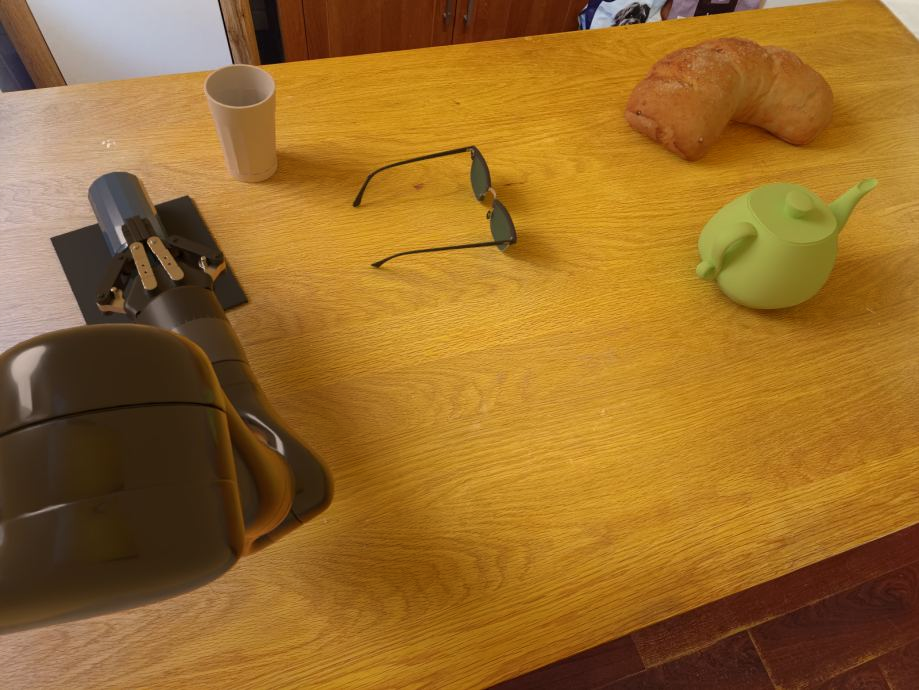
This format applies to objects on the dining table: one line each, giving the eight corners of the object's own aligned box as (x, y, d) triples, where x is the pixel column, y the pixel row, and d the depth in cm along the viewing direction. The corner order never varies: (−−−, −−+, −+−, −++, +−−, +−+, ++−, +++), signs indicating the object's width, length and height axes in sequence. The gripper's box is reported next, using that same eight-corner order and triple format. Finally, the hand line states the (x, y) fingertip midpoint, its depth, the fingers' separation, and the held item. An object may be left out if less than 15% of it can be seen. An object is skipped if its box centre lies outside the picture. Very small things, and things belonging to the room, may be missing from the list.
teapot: (788, 212, 101) (840, 136, 90) (860, 294, 94) (925, 222, 83) (655, 248, 94) (693, 171, 83) (721, 340, 87) (772, 269, 76)
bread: (771, 63, 121) (801, 6, 112) (838, 145, 110) (877, 89, 102) (593, 81, 112) (612, 21, 104) (648, 171, 102) (673, 112, 94)
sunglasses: (347, 188, 94) (346, 158, 90) (472, 172, 98) (477, 143, 94) (377, 288, 85) (378, 260, 81) (513, 266, 90) (521, 238, 86)
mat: (101, 357, 76) (99, 355, 76) (50, 240, 84) (49, 237, 84) (248, 301, 82) (247, 299, 82) (188, 197, 90) (188, 194, 90)
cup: (206, 166, 93) (188, 86, 83) (251, 135, 97) (239, 55, 87) (253, 196, 91) (240, 118, 81) (297, 163, 95) (290, 84, 85)
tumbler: (109, 250, 76) (80, 181, 81) (125, 286, 81) (97, 219, 86) (167, 231, 78) (136, 165, 83) (180, 268, 83) (150, 203, 88)
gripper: (259, 297, 67) (190, 175, 75) (111, 353, 62) (52, 217, 70) (267, 343, 73) (202, 226, 81) (133, 397, 68) (77, 268, 76)
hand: (133, 222), depth 75 cm, fingers closed
